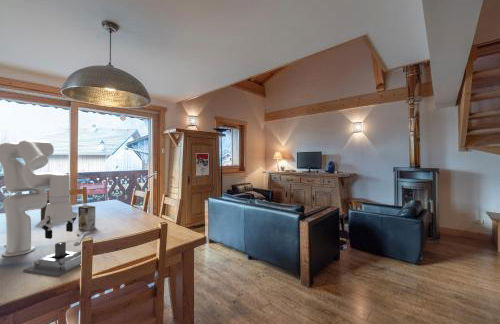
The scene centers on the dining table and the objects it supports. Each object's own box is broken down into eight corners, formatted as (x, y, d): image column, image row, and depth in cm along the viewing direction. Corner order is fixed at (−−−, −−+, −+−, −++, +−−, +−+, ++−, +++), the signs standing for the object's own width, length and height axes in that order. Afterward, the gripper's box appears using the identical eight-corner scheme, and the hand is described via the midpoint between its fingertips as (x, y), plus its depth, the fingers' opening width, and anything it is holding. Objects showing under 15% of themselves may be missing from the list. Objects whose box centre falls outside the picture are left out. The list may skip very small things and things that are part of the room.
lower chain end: (32, 267, 106) (32, 260, 106) (57, 257, 116) (57, 251, 116) (58, 271, 103) (58, 264, 103) (81, 260, 113) (81, 253, 113)
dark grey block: (52, 265, 108) (52, 244, 107) (61, 261, 112) (61, 241, 111) (59, 266, 107) (59, 245, 107) (67, 262, 111) (68, 242, 111)
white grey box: (37, 268, 105) (37, 257, 105) (62, 257, 116) (61, 247, 116) (64, 271, 102) (64, 260, 102) (86, 260, 113) (86, 250, 113)
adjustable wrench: (79, 246, 135) (79, 243, 135) (65, 247, 133) (65, 244, 133) (90, 232, 158) (90, 230, 158) (79, 233, 156) (79, 231, 156)
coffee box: (78, 229, 164) (77, 206, 164) (86, 226, 171) (86, 205, 170) (87, 230, 162) (87, 207, 161) (95, 227, 168) (95, 206, 167)
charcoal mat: (23, 271, 104) (23, 269, 104) (59, 256, 119) (59, 254, 119) (58, 276, 100) (58, 274, 100) (90, 260, 115) (90, 258, 115)
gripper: (70, 195, 118) (70, 228, 118) (32, 202, 101) (32, 240, 101) (82, 196, 116) (82, 229, 117) (46, 203, 99) (46, 242, 100)
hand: (59, 234), depth 109 cm, fingers open, 9 cm apart
